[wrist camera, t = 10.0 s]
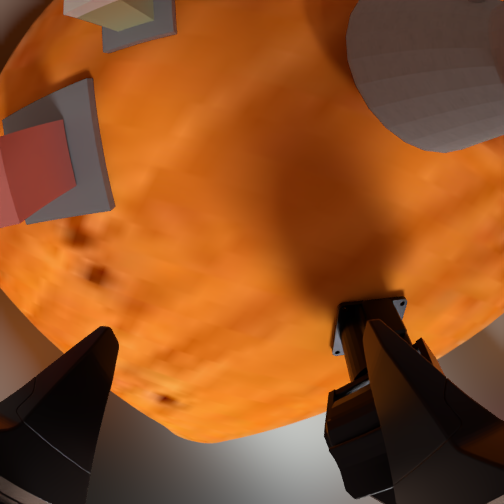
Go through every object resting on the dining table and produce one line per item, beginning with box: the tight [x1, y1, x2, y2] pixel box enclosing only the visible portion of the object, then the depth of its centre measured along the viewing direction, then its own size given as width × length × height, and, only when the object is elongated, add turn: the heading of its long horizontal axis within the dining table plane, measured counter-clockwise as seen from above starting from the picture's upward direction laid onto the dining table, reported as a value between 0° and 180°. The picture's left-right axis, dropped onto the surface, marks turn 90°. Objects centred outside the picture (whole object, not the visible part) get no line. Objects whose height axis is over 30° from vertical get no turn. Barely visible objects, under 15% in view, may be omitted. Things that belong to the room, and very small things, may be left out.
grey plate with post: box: [2, 78, 115, 225], centre depth 15 cm, size 10×10×7 cm
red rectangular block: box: [0, 119, 77, 228], centre depth 14 cm, size 5×5×7 cm
